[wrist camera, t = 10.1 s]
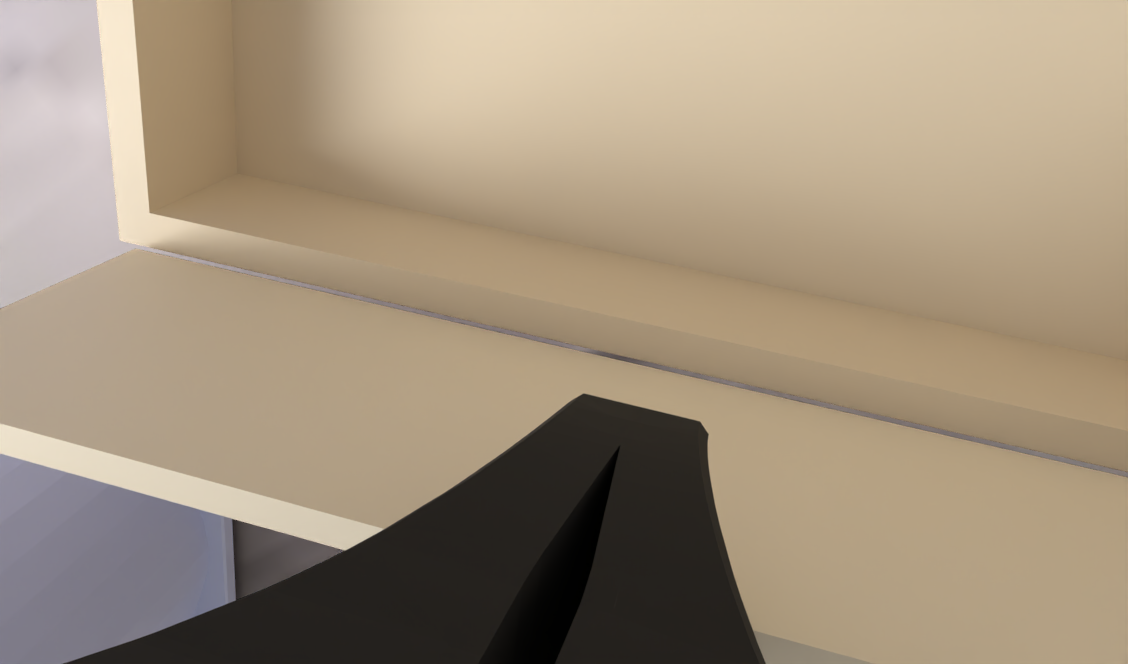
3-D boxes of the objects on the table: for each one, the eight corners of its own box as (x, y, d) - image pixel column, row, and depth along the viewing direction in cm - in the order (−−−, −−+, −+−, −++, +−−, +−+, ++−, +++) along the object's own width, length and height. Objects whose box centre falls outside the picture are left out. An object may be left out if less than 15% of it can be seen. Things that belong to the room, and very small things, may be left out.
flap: (1307, 518, 12) (1293, 543, 12) (135, 248, 15) (137, 271, 15) (1611, 866, 7) (1580, 898, 8) (-160, 379, 10) (-153, 411, 10)
